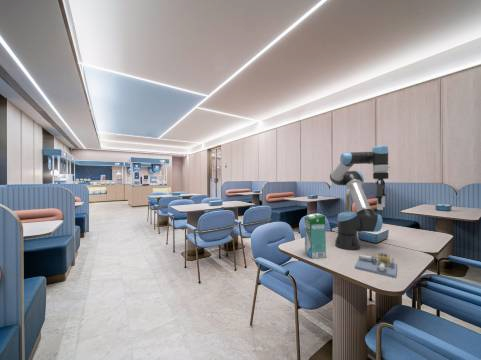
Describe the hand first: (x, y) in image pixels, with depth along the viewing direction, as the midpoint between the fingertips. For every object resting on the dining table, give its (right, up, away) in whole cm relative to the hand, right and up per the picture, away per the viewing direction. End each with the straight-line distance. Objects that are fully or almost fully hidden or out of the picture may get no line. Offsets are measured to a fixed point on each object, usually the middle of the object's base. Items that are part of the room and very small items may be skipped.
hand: (381, 208), depth 121 cm
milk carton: (-38, -30, +4) cm, 48 cm away
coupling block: (-8, -28, -14) cm, 32 cm away
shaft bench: (-12, -29, -14) cm, 34 cm away
